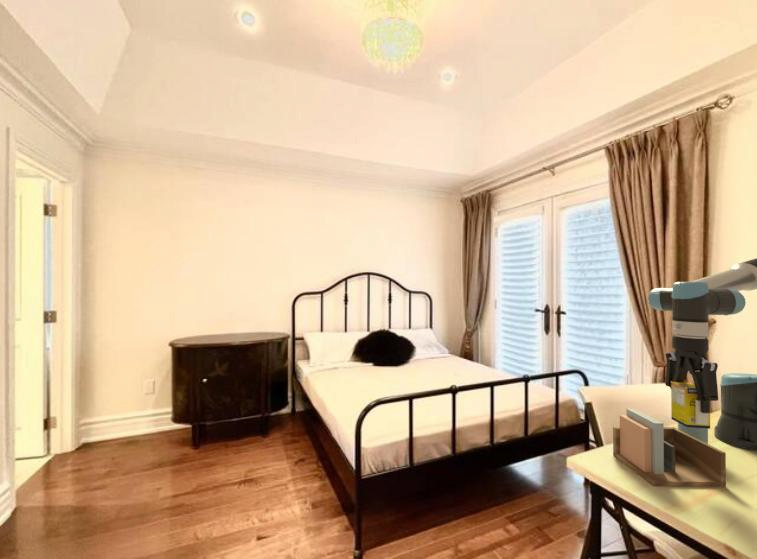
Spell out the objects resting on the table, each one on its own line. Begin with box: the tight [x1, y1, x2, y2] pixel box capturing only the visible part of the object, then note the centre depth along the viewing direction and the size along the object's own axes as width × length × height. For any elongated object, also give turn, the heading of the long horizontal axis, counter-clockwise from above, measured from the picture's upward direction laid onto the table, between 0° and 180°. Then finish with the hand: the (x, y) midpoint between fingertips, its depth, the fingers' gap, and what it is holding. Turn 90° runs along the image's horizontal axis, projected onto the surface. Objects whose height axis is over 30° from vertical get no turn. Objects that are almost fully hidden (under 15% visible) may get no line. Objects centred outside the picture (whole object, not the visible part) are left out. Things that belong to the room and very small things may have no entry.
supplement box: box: [670, 381, 711, 430], centre depth 95 cm, size 6×6×11 cm
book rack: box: [612, 426, 727, 488], centre depth 98 cm, size 19×16×9 cm
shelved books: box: [619, 408, 665, 474], centre depth 100 cm, size 4×11×14 cm, turn 179°
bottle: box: [677, 422, 709, 444], centre depth 108 cm, size 7×7×15 cm
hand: (689, 418), depth 95 cm, fingers closed on supplement box, 6 cm apart
